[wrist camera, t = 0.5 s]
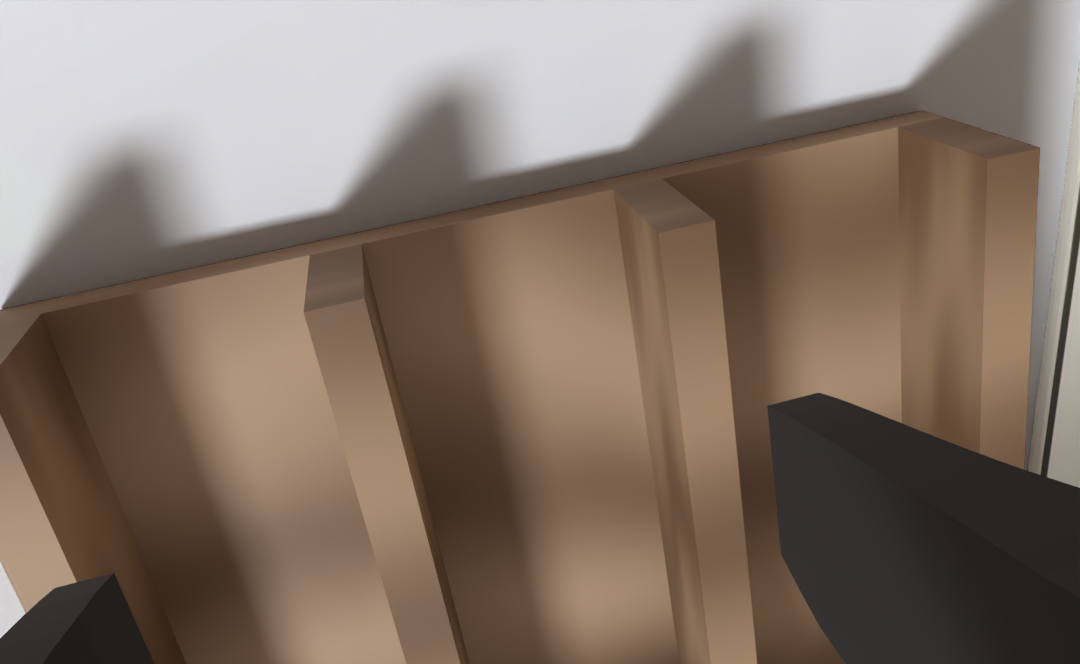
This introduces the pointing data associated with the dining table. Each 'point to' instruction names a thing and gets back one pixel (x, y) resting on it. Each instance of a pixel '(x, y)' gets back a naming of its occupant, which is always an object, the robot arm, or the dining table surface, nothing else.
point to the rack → (518, 408)
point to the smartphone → (1062, 339)
